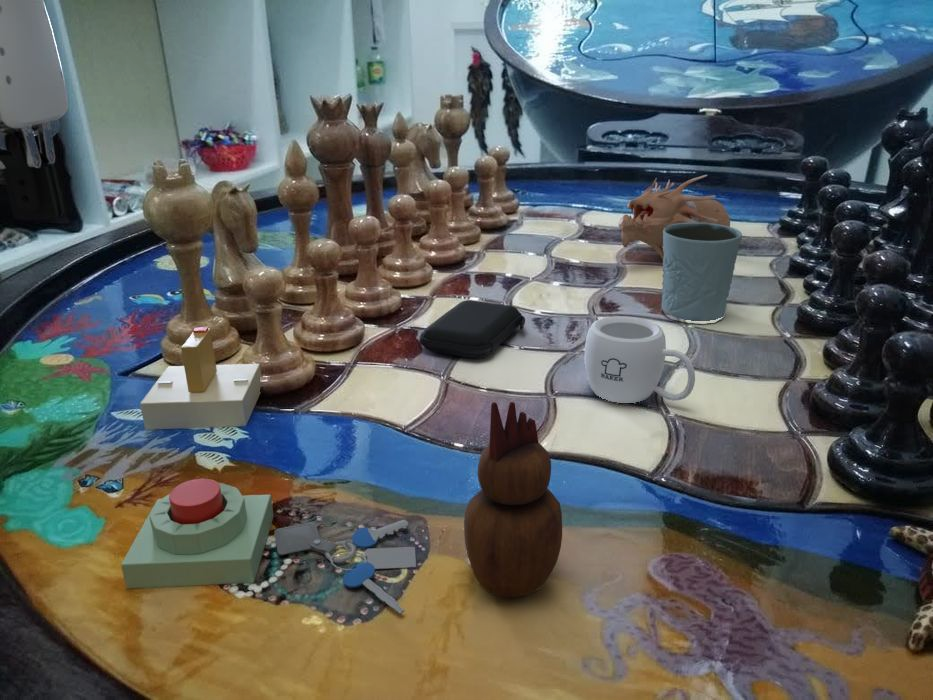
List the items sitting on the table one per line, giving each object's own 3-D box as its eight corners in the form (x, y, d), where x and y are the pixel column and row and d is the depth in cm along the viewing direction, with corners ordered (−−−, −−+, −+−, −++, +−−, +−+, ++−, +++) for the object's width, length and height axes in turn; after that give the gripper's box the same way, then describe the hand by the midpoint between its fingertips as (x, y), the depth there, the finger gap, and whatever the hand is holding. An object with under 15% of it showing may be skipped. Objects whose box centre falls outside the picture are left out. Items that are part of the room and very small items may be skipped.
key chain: (257, 547, 56) (256, 538, 56) (331, 495, 63) (330, 487, 62) (400, 620, 49) (399, 611, 49) (468, 553, 55) (467, 545, 55)
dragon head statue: (737, 175, 130) (696, 167, 110) (738, 260, 132) (698, 268, 112) (664, 183, 138) (613, 177, 117) (666, 263, 140) (616, 271, 119)
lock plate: (144, 430, 73) (139, 402, 72) (172, 390, 82) (167, 364, 80) (246, 426, 74) (242, 398, 73) (263, 387, 82) (259, 361, 81)
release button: (166, 527, 53) (162, 507, 52) (180, 498, 56) (177, 479, 56) (216, 525, 53) (213, 505, 52) (228, 496, 56) (225, 477, 56)
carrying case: (493, 367, 87) (533, 326, 99) (493, 343, 86) (534, 305, 98) (413, 353, 91) (462, 315, 103) (413, 330, 90) (462, 294, 102)
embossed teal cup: (733, 308, 106) (745, 226, 101) (724, 331, 97) (737, 243, 92) (662, 298, 109) (671, 219, 105) (648, 320, 101) (656, 235, 96)
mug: (568, 398, 79) (572, 331, 76) (601, 371, 86) (605, 308, 83) (677, 428, 73) (686, 356, 70) (703, 396, 80) (712, 329, 77)
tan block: (204, 392, 74) (196, 344, 72) (188, 392, 74) (180, 345, 72) (217, 371, 79) (210, 326, 77) (202, 371, 79) (194, 326, 77)
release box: (126, 589, 52) (115, 543, 51) (161, 521, 60) (153, 479, 58) (254, 583, 53) (247, 538, 51) (273, 516, 60) (268, 475, 58)
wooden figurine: (478, 618, 49) (479, 423, 43) (455, 564, 54) (453, 382, 49) (571, 598, 51) (583, 407, 45) (540, 547, 56) (548, 370, 50)
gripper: (-19, -34, 58) (36, 199, 65) (-154, -57, 44) (-66, 242, 51) (79, -34, 58) (123, 197, 65) (-25, -56, 44) (45, 240, 52)
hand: (40, 216), depth 58 cm, fingers closed
